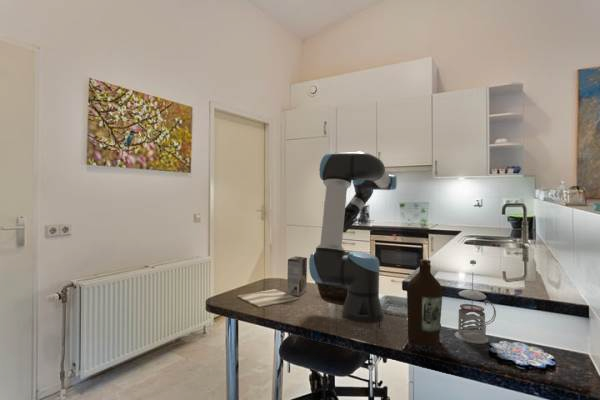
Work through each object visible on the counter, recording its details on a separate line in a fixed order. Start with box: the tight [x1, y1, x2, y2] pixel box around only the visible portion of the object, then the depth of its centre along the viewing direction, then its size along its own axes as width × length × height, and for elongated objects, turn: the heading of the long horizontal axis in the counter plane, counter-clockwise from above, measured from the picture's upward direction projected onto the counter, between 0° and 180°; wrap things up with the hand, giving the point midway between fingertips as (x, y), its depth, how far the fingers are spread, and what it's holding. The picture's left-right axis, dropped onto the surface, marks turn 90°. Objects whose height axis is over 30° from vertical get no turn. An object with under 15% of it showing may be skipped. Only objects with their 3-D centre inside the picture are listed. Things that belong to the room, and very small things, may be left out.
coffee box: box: [286, 256, 308, 297], centre depth 159 cm, size 9×6×16 cm
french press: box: [454, 259, 497, 344], centre depth 111 cm, size 10×12×25 cm
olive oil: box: [406, 259, 443, 346], centre depth 109 cm, size 11×11×25 cm
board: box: [236, 288, 300, 308], centre depth 149 cm, size 18×20×1 cm
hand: (330, 240), depth 173 cm, fingers closed
